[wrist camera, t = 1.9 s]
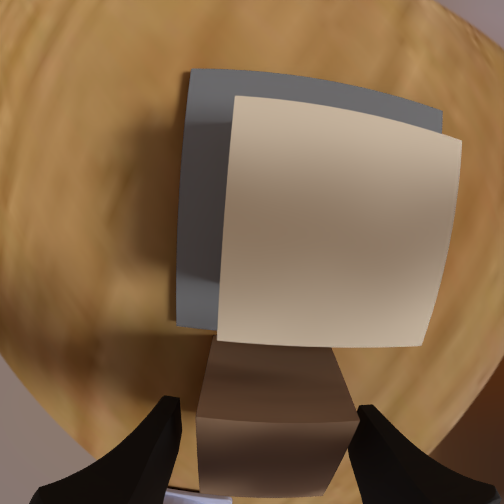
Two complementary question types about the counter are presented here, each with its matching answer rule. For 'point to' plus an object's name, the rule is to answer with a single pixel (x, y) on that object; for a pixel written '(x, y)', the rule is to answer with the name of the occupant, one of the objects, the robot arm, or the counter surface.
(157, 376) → the counter surface
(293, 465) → the walnut block
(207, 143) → the mat
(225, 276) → the maple block
